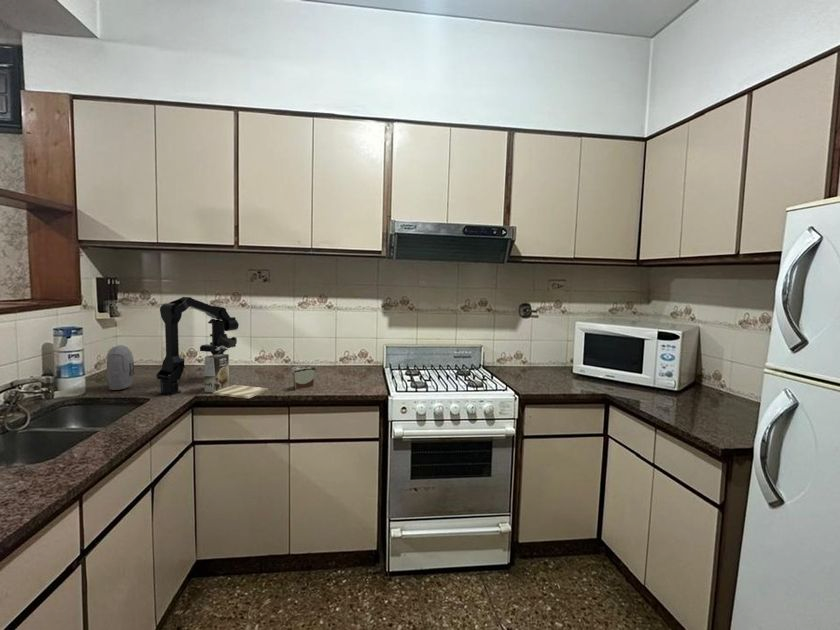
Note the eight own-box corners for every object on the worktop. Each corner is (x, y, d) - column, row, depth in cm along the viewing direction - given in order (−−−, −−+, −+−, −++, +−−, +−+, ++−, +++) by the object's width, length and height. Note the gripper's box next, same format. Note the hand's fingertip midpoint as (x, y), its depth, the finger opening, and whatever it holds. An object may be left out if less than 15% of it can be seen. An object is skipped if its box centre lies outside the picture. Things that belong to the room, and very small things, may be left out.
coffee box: (216, 392, 190) (216, 357, 188) (204, 391, 191) (203, 356, 190) (229, 387, 199) (229, 354, 197) (217, 386, 200) (217, 353, 198)
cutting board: (213, 394, 187) (213, 392, 187) (234, 386, 200) (234, 384, 200) (248, 398, 182) (248, 396, 182) (267, 390, 196) (267, 388, 196)
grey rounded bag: (119, 384, 199) (118, 342, 197) (139, 383, 201) (138, 342, 199) (105, 393, 184) (103, 348, 183) (126, 392, 186) (125, 347, 185)
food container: (309, 383, 210) (309, 364, 209) (316, 386, 206) (316, 366, 205) (286, 387, 201) (286, 367, 200) (292, 390, 197) (292, 369, 196)
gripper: (218, 335, 199) (218, 368, 200) (244, 331, 216) (244, 361, 218) (198, 333, 201) (199, 366, 203) (226, 329, 219) (226, 359, 221)
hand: (218, 363), depth 211 cm, fingers closed
